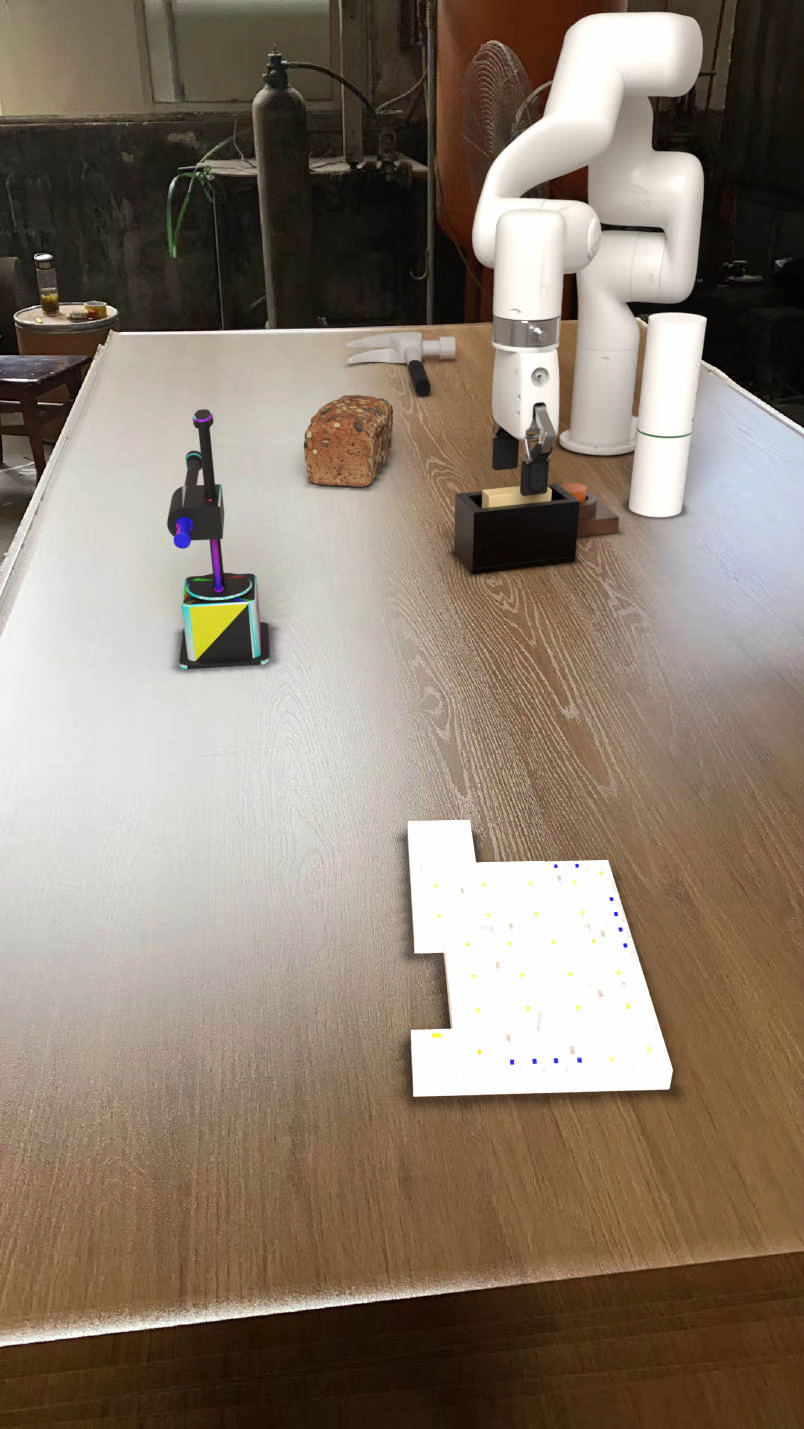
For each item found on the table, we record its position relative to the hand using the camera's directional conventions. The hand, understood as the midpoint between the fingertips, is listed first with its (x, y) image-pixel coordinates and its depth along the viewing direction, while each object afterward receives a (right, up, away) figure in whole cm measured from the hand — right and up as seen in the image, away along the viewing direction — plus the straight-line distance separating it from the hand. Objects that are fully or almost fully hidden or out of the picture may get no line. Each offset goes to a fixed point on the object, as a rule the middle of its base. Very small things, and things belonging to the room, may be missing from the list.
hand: (518, 480), depth 130 cm
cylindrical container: (+21, 0, +20) cm, 29 cm away
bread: (-22, +9, +35) cm, 42 cm away
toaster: (0, -9, +5) cm, 10 cm away
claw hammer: (-13, +38, +84) cm, 93 cm away
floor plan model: (-6, -44, -55) cm, 71 cm away
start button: (+8, 0, +12) cm, 15 cm away
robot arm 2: (-33, -19, -11) cm, 40 cm away
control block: (+8, -3, +14) cm, 16 cm away
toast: (0, -8, +4) cm, 9 cm away
